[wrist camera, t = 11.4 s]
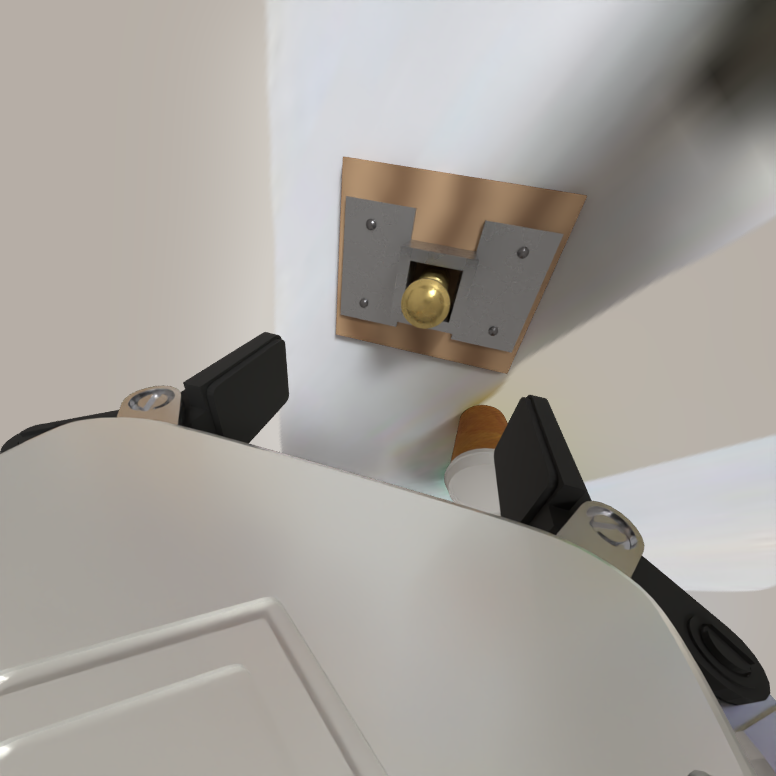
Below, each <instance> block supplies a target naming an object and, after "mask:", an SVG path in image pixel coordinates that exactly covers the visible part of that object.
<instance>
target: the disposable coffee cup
mask: <svg viewBox="0 0 776 776" xmlns="http://www.w3.org/2000/svg"><path fill="white" fill-rule="evenodd" d="M507 424H508V423H507V421H506V419H505V417H504V415H503V414H502V413H501V412H500V411H499V410H498V409H496V408H494V407H491V406H487V405H478V406H473V407H471V408H469V409H467V410H466V411H465V412H464V413H463V414H462V415H461V417H460V421H459V426H458V431H457V435H456V440H455V445H454V449H453V453H452V458H451V463H450V465H449V466H448V468H447V470H446V472H445V478H444V482H445V485H446V488H447V490H448V491H449V494H450V497H451V499H452V500H453V501H454V502H455V503H458V504H461V505H465V506H468V507H471V508H475V509H478V510H481V511H485V512H488V513H491V514H495V515H498V516H501V513H500V505H499V497H498V489H497V481H496V472H495V464H494V450H495V448H496V446H497V444H498V442H499V440H500V438H501V436H502V434H503V432H504V430H505V428H506V426H507Z"/></svg>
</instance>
